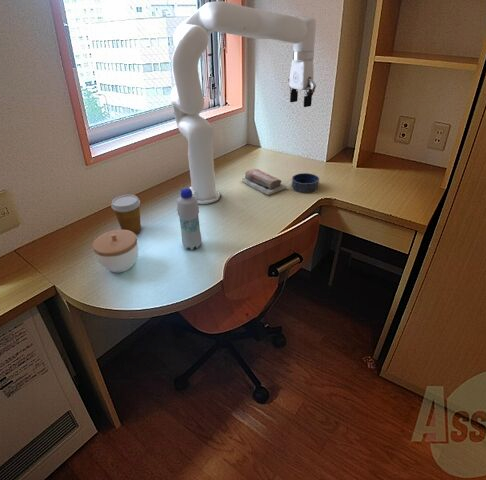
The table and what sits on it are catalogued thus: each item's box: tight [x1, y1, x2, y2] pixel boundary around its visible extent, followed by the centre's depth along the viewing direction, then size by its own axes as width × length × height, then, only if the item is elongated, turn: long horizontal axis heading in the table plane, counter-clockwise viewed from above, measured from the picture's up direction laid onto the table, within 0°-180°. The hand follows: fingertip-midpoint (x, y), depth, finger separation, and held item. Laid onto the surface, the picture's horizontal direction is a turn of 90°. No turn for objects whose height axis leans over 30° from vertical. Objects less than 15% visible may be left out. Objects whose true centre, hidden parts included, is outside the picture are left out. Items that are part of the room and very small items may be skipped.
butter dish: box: [241, 168, 287, 196], centre depth 150 cm, size 18×5×10 cm
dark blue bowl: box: [291, 172, 320, 194], centre depth 147 cm, size 11×11×4 cm
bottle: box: [176, 188, 203, 251], centre depth 110 cm, size 7×7×20 cm
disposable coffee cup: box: [110, 194, 142, 235], centre depth 122 cm, size 10×10×12 cm
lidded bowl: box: [92, 229, 139, 274], centre depth 106 cm, size 13×13×11 cm
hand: (300, 104), depth 143 cm, fingers open, 9 cm apart
